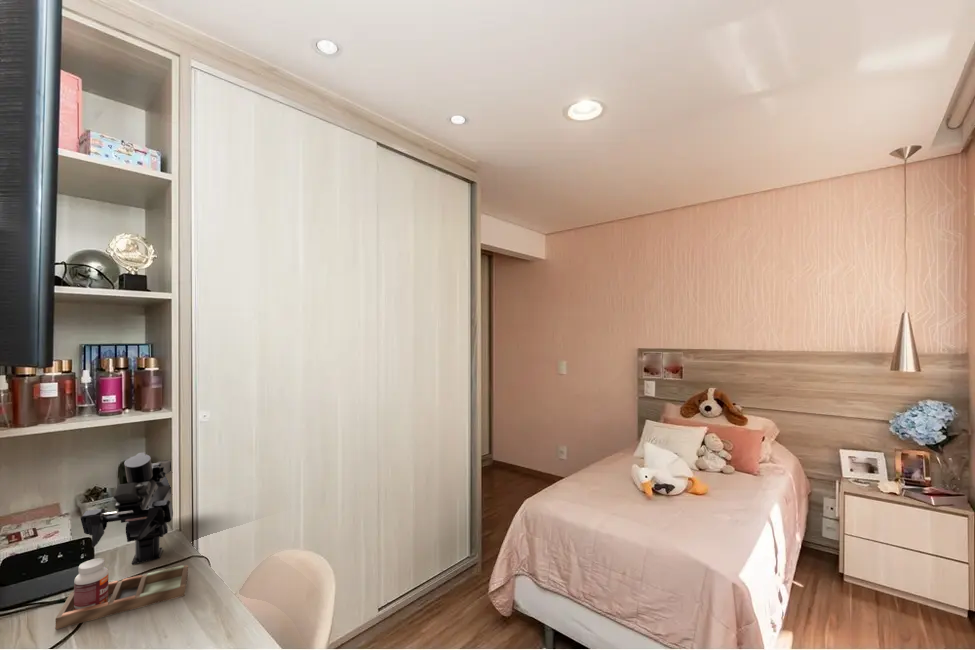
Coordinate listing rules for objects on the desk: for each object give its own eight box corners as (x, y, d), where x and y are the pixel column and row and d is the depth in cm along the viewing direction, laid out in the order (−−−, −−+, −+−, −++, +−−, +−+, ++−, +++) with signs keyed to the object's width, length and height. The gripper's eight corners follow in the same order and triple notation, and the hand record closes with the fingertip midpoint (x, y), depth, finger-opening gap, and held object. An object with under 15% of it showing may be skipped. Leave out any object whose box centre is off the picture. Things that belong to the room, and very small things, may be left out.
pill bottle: (105, 611, 104) (106, 565, 104) (70, 620, 101) (71, 573, 101) (110, 597, 109) (110, 553, 109) (77, 605, 106) (77, 561, 106)
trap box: (55, 629, 98) (55, 617, 98) (70, 602, 107) (70, 591, 107) (184, 595, 110) (184, 584, 110) (188, 574, 120) (188, 563, 120)
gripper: (90, 478, 115) (60, 524, 101) (174, 469, 121) (157, 510, 108) (98, 510, 119) (70, 558, 105) (179, 499, 125) (163, 543, 112)
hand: (116, 541), depth 107 cm, fingers open, 9 cm apart
